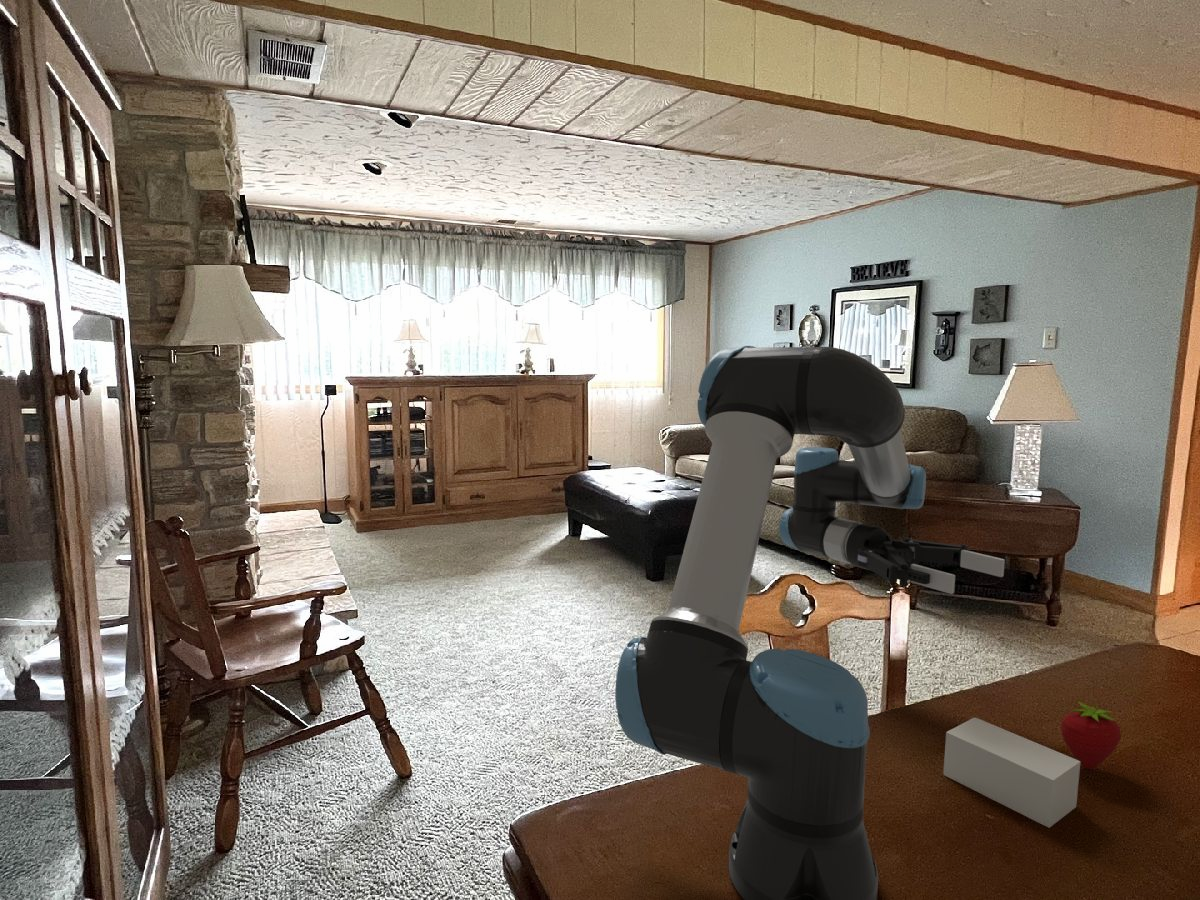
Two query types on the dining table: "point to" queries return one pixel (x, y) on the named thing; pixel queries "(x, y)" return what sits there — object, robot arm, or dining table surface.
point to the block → (1012, 770)
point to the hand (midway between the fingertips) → (979, 576)
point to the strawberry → (1090, 734)
